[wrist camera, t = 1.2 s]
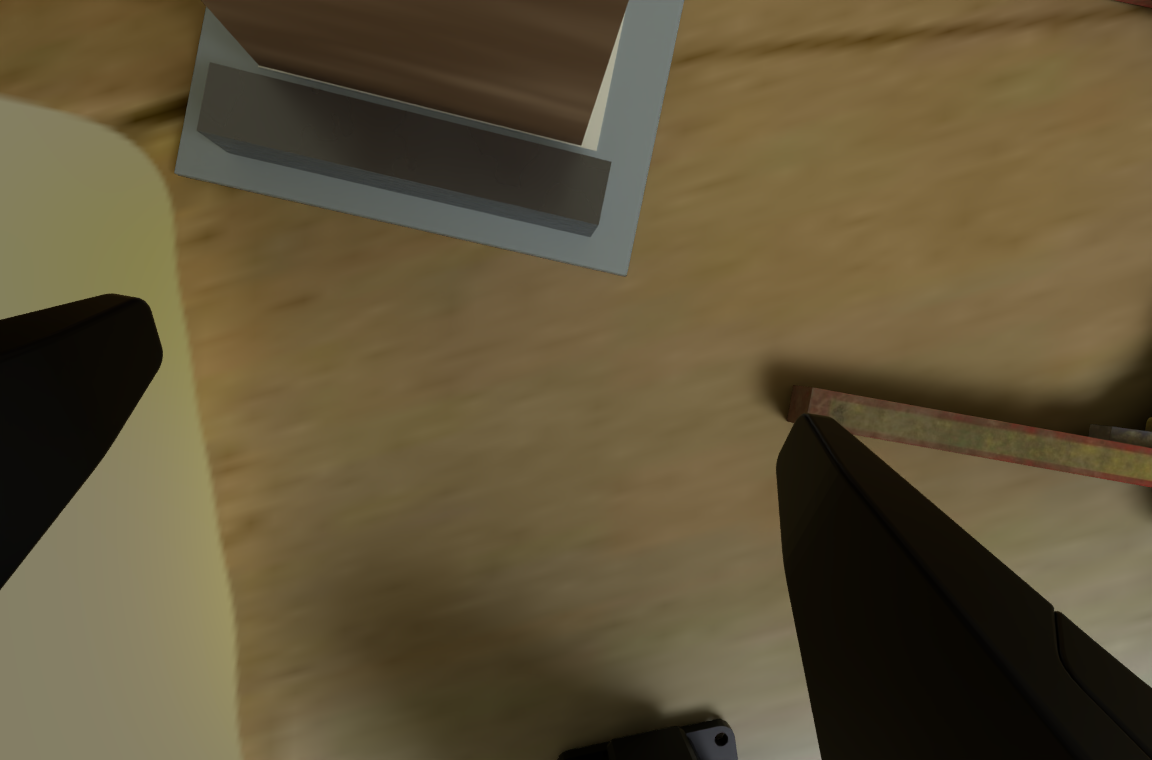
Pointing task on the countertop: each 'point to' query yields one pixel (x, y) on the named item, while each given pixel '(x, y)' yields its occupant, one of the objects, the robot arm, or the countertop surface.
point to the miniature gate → (988, 431)
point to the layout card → (612, 132)
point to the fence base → (401, 151)
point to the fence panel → (444, 53)
